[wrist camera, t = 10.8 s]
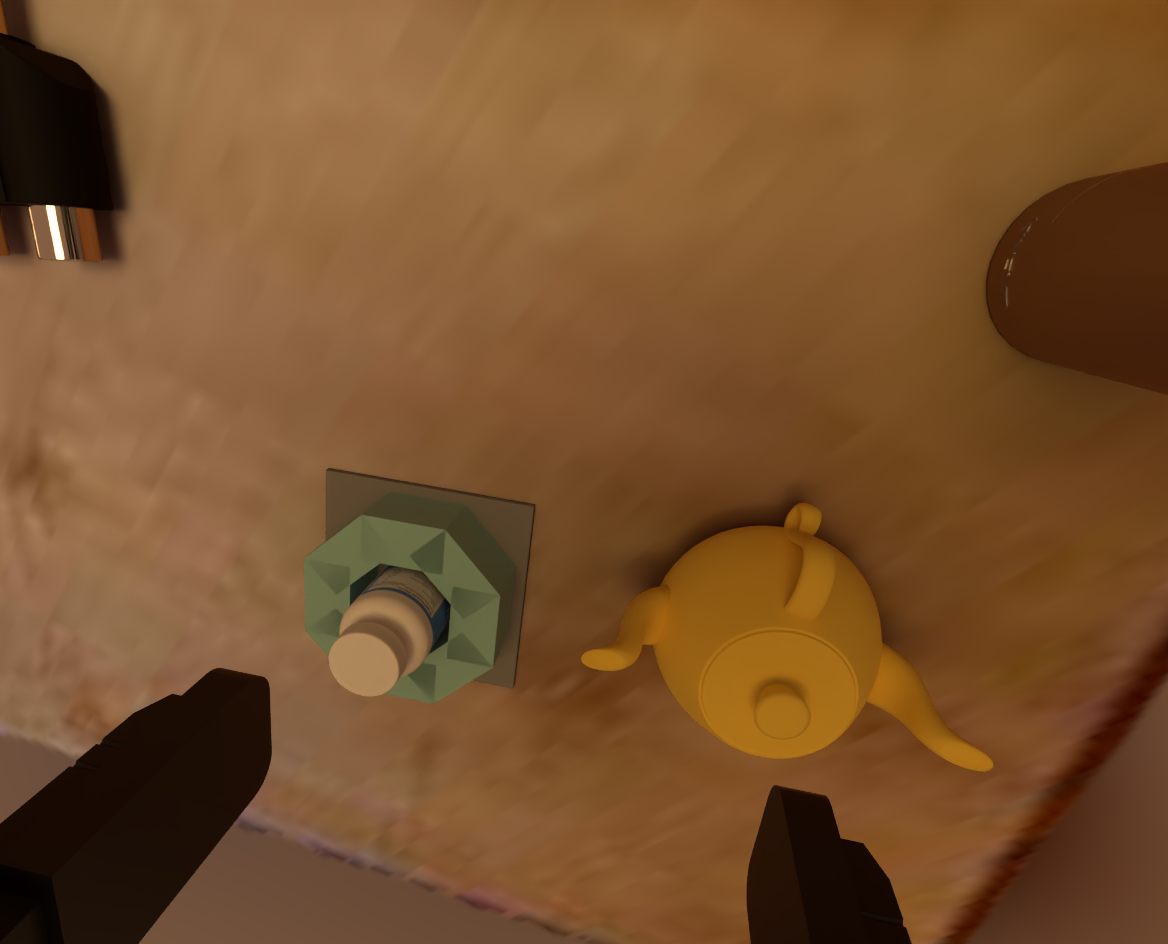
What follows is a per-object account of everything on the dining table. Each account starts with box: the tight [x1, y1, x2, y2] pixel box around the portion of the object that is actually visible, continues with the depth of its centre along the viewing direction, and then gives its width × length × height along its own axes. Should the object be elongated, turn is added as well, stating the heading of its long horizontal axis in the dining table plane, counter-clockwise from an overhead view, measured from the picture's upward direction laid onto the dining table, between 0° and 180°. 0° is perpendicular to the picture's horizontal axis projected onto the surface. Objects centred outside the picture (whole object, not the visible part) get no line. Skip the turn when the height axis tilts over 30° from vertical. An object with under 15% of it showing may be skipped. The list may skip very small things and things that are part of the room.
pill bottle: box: [329, 565, 451, 696], centre depth 39 cm, size 6×5×10 cm
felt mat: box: [326, 468, 535, 688], centre depth 44 cm, size 14×14×1 cm
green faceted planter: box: [304, 492, 516, 704], centre depth 42 cm, size 12×12×4 cm
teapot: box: [581, 503, 993, 771], centre depth 36 cm, size 20×15×12 cm
